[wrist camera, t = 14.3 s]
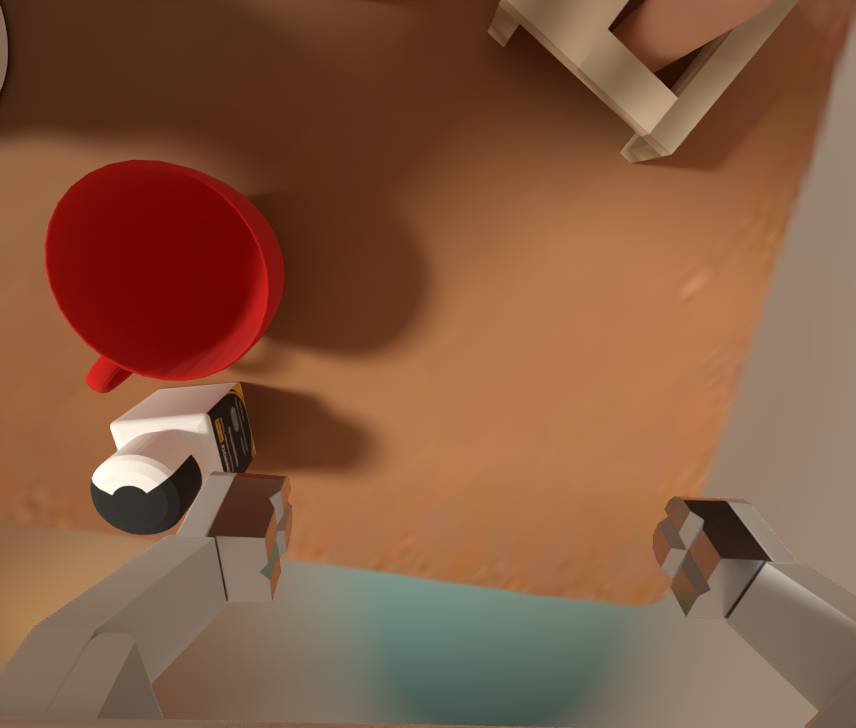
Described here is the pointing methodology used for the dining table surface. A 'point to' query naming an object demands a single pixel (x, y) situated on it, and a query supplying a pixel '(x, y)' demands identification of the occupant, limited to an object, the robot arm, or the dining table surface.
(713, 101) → the bridge
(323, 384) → the dining table surface
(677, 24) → the long dowel
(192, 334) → the ceramic cup
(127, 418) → the medicine bottle
